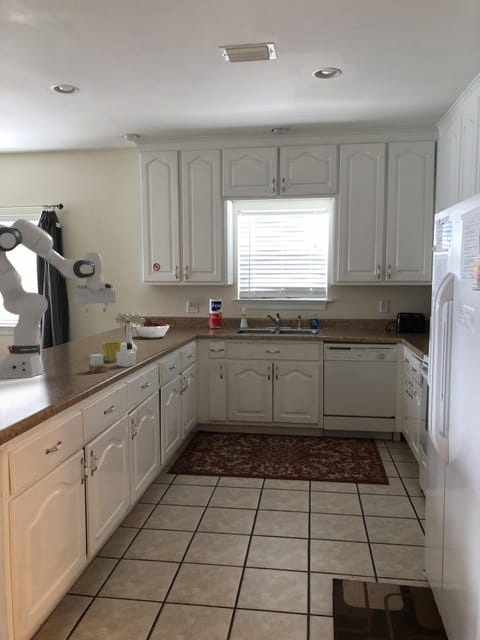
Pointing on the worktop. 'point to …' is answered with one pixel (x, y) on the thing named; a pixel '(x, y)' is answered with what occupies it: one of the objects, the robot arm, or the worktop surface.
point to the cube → (96, 359)
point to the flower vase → (130, 326)
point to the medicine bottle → (126, 355)
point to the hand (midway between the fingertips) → (95, 312)
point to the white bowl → (153, 328)
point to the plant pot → (111, 350)
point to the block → (98, 368)
